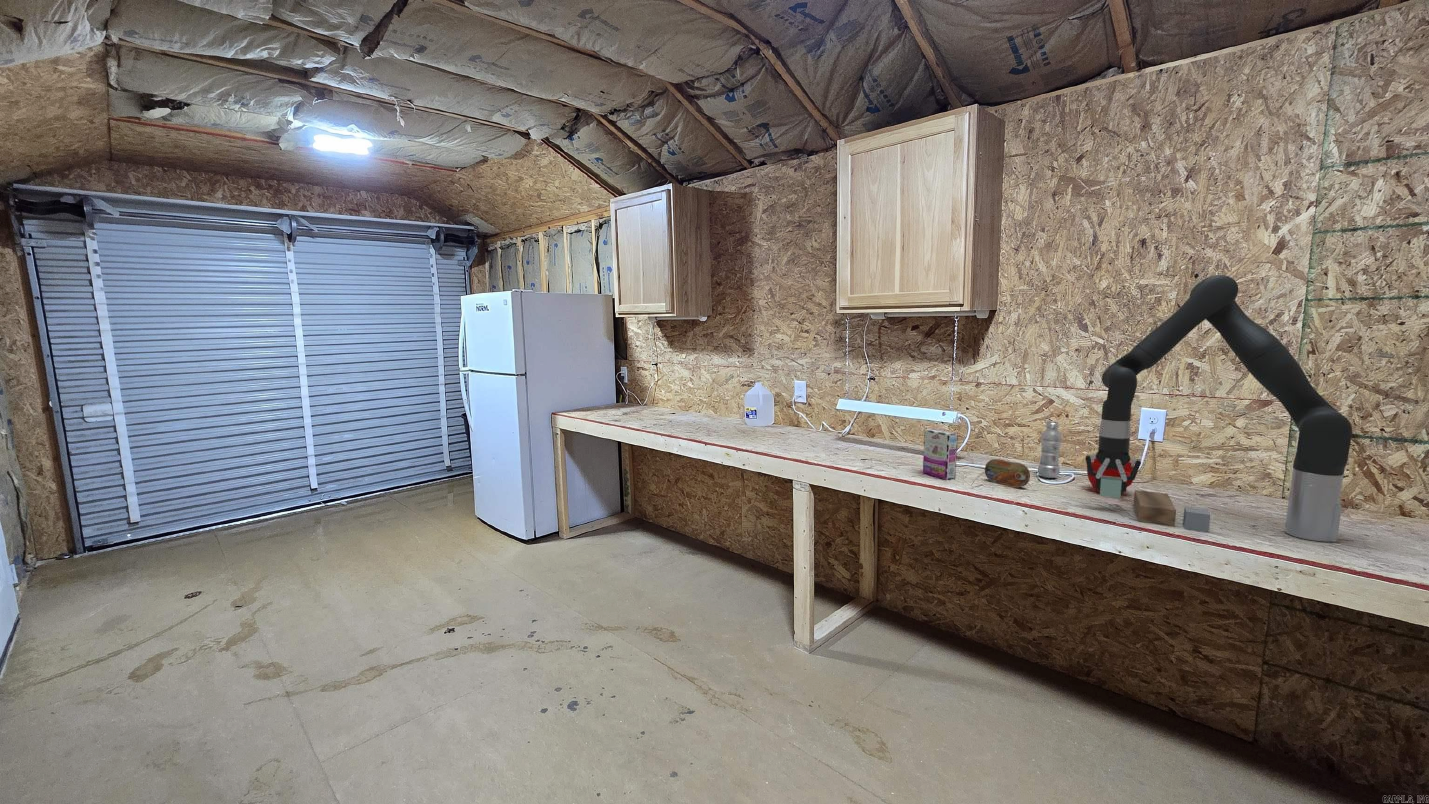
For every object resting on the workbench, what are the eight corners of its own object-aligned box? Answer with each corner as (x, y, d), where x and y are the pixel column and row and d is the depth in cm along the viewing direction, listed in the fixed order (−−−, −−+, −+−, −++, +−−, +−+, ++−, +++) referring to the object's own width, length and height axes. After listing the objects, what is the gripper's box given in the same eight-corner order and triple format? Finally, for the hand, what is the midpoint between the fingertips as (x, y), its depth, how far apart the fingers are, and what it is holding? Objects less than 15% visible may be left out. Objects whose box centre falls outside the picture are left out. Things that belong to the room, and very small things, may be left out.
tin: (983, 480, 210) (985, 456, 209) (988, 479, 212) (990, 455, 210) (1025, 490, 197) (1027, 465, 196) (1030, 489, 199) (1032, 464, 198)
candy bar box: (956, 478, 212) (958, 433, 210) (946, 480, 210) (948, 434, 207) (931, 471, 222) (933, 428, 219) (921, 473, 219) (923, 429, 217)
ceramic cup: (1108, 501, 185) (1111, 470, 184) (1076, 486, 202) (1078, 457, 201) (1150, 501, 185) (1153, 470, 184) (1114, 486, 202) (1117, 457, 201)
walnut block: (1165, 510, 178) (1167, 493, 178) (1174, 528, 163) (1176, 510, 162) (1133, 505, 182) (1134, 489, 182) (1138, 522, 167) (1140, 505, 166)
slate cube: (1205, 527, 163) (1208, 509, 162) (1208, 533, 158) (1210, 514, 158) (1182, 524, 165) (1184, 506, 165) (1184, 529, 161) (1186, 511, 161)
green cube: (1120, 493, 178) (1121, 477, 177) (1120, 498, 173) (1121, 481, 173) (1100, 491, 180) (1101, 475, 180) (1099, 495, 176) (1101, 479, 175)
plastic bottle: (1039, 474, 218) (1043, 420, 215) (1060, 477, 214) (1065, 422, 211) (1035, 477, 213) (1039, 422, 210) (1057, 481, 209) (1061, 424, 206)
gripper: (1144, 435, 174) (1139, 492, 176) (1086, 430, 182) (1082, 485, 184) (1145, 439, 167) (1140, 498, 170) (1085, 434, 175) (1081, 491, 178)
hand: (1110, 491), depth 177 cm, fingers closed on green cube, 5 cm apart
